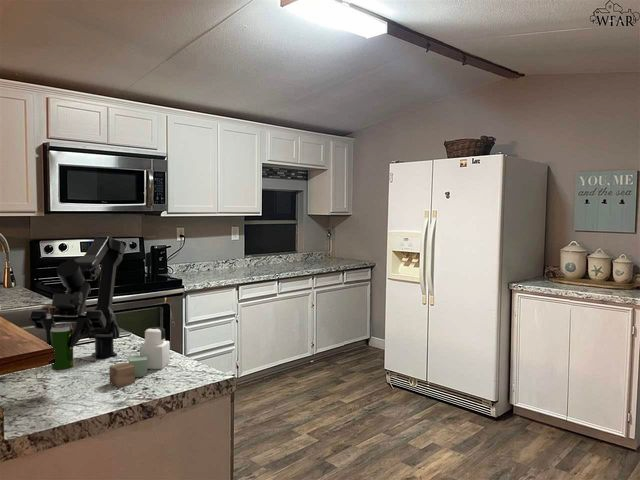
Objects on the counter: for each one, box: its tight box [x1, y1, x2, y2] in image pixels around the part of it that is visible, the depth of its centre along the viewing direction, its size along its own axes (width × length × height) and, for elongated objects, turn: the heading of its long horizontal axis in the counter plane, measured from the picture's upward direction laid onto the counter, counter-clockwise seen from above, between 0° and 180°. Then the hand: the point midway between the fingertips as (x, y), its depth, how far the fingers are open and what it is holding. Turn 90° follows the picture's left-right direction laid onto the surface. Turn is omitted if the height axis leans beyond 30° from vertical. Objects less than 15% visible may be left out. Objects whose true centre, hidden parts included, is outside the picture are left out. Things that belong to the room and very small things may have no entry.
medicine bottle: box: [139, 326, 171, 370], centre depth 158 cm, size 7×7×12 cm
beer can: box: [50, 323, 74, 374], centre depth 134 cm, size 5×5×12 cm
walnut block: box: [109, 361, 136, 388], centre depth 142 cm, size 5×5×5 cm
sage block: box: [128, 354, 148, 378], centre depth 150 cm, size 5×5×5 cm
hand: (59, 347), depth 133 cm, fingers closed on beer can, 5 cm apart
